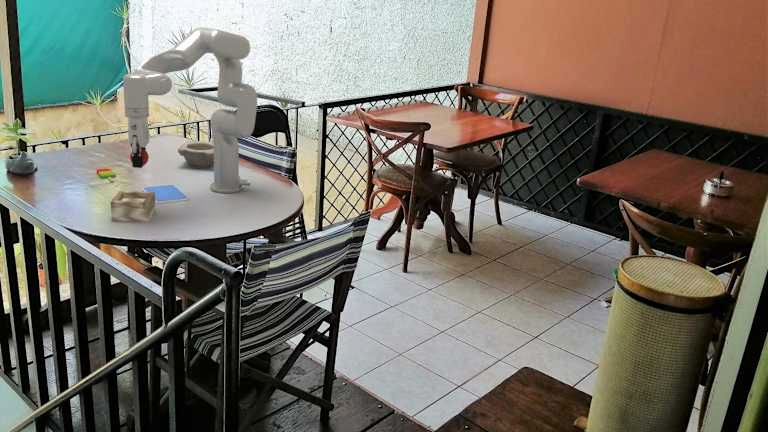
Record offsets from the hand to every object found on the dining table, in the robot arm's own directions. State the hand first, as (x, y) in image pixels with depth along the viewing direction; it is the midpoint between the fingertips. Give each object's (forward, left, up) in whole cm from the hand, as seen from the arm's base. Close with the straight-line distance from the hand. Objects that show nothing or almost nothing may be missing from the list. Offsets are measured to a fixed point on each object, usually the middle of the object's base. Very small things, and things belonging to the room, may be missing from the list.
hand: (139, 164), depth 232 cm
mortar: (-11, -65, -19) cm, 68 cm away
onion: (0, 0, -2) cm, 2 cm away
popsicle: (+23, -44, -19) cm, 53 cm away
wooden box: (+3, -1, -19) cm, 19 cm away
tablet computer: (-3, -24, -19) cm, 31 cm away
